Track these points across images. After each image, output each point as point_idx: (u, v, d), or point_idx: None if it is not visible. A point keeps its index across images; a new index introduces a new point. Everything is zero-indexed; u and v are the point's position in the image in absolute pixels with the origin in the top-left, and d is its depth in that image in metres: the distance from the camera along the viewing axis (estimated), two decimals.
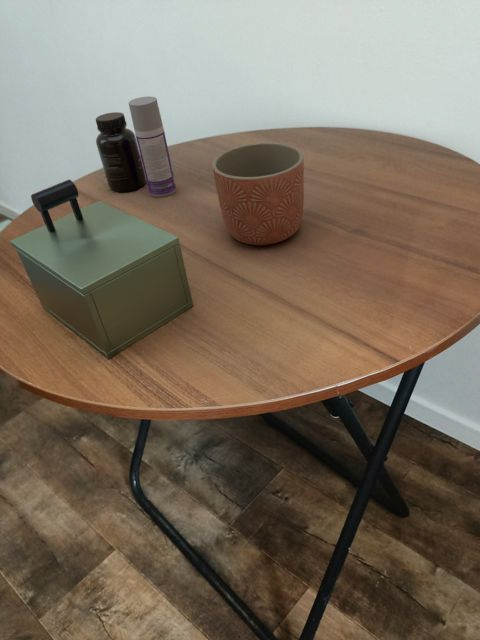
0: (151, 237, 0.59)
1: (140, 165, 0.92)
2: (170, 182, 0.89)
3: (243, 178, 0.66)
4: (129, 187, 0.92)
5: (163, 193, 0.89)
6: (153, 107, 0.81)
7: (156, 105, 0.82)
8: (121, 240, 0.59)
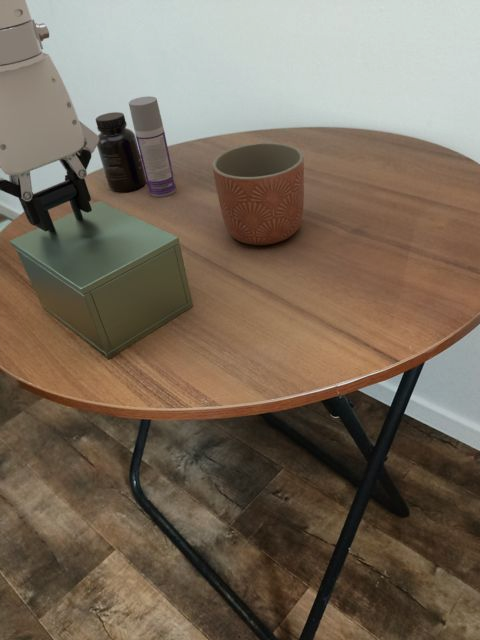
0: (151, 237, 0.59)
1: (140, 165, 0.92)
2: (170, 182, 0.89)
3: (243, 178, 0.66)
4: (129, 187, 0.92)
5: (163, 193, 0.89)
6: (153, 107, 0.81)
7: (156, 105, 0.82)
8: (121, 240, 0.59)
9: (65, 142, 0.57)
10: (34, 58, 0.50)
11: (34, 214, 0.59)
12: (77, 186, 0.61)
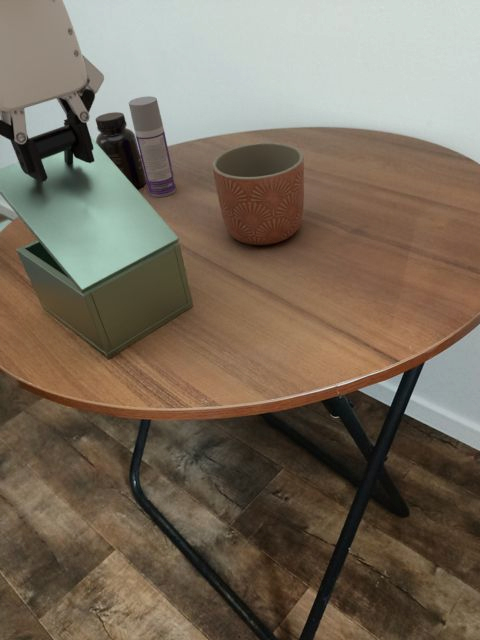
0: (152, 228, 0.58)
1: (140, 165, 0.92)
2: (170, 182, 0.89)
3: (243, 178, 0.66)
4: None
5: (163, 193, 0.89)
6: (153, 107, 0.81)
7: (156, 105, 0.82)
8: (120, 222, 0.57)
9: (65, 76, 0.50)
10: None
11: (29, 161, 0.52)
12: (78, 131, 0.54)
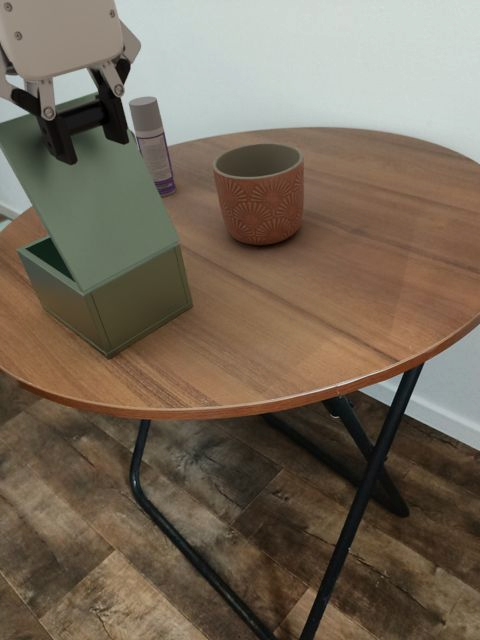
0: (157, 225, 0.56)
1: None
2: (170, 182, 0.89)
3: (243, 178, 0.66)
4: None
5: (163, 193, 0.89)
6: (153, 107, 0.81)
7: (156, 105, 0.82)
8: (128, 213, 0.54)
9: (100, 41, 0.43)
10: None
11: (57, 140, 0.45)
12: (112, 107, 0.47)
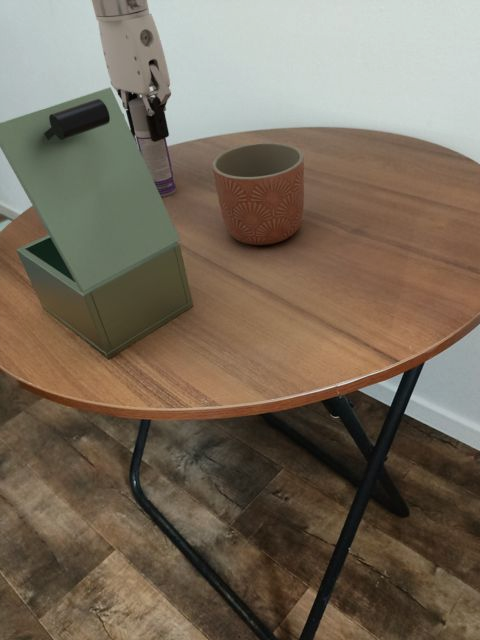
0: (157, 225, 0.56)
1: None
2: (170, 182, 0.89)
3: (243, 178, 0.66)
4: None
5: (163, 193, 0.89)
6: None
7: None
8: (128, 213, 0.54)
9: (134, 83, 0.77)
10: (108, 17, 0.71)
11: None
12: (147, 118, 0.81)
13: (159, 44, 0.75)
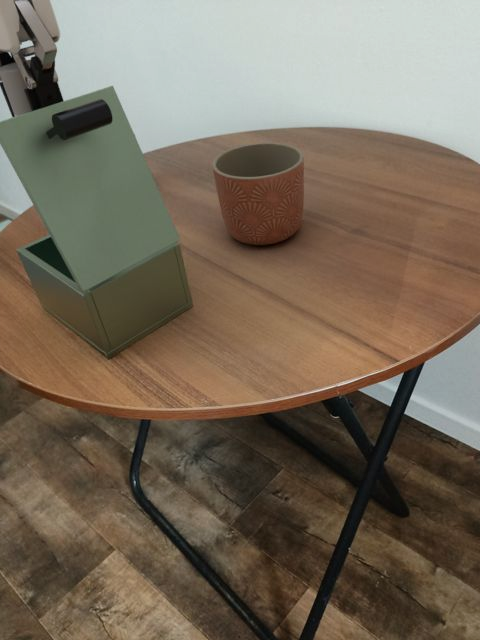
0: (157, 225, 0.56)
1: None
2: None
3: (243, 178, 0.66)
4: None
5: None
6: None
7: None
8: (128, 213, 0.54)
9: None
10: None
11: None
12: None
13: None
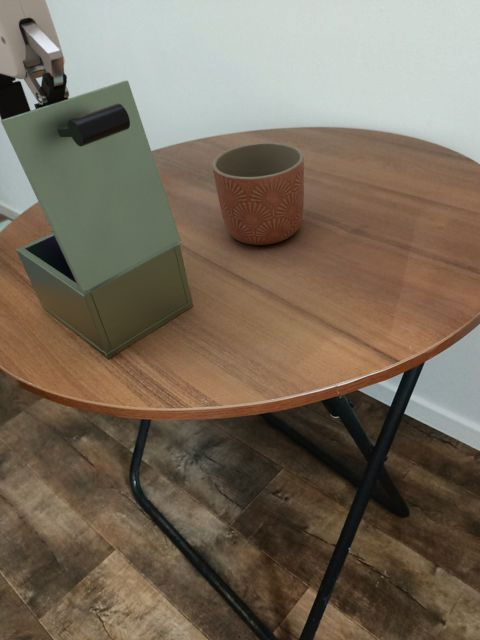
0: (160, 226, 0.56)
1: None
2: None
3: (243, 178, 0.66)
4: None
5: None
6: None
7: None
8: (133, 214, 0.54)
9: (1, 59, 0.47)
10: None
11: None
12: None
13: None
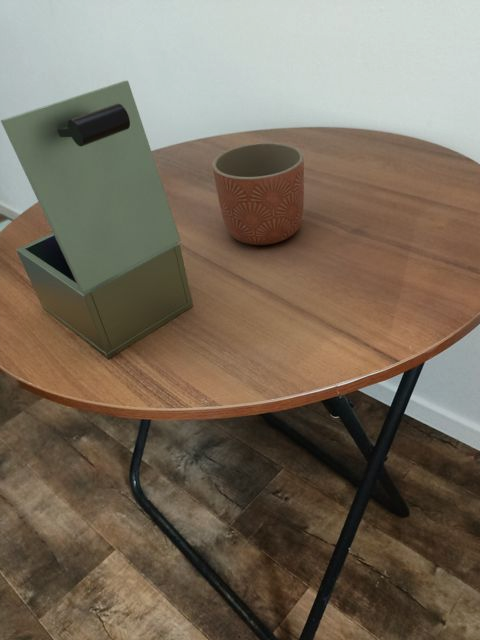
0: (160, 226, 0.56)
1: None
2: None
3: (243, 178, 0.66)
4: None
5: None
6: None
7: None
8: (133, 214, 0.54)
9: None
10: None
11: None
12: None
13: None
